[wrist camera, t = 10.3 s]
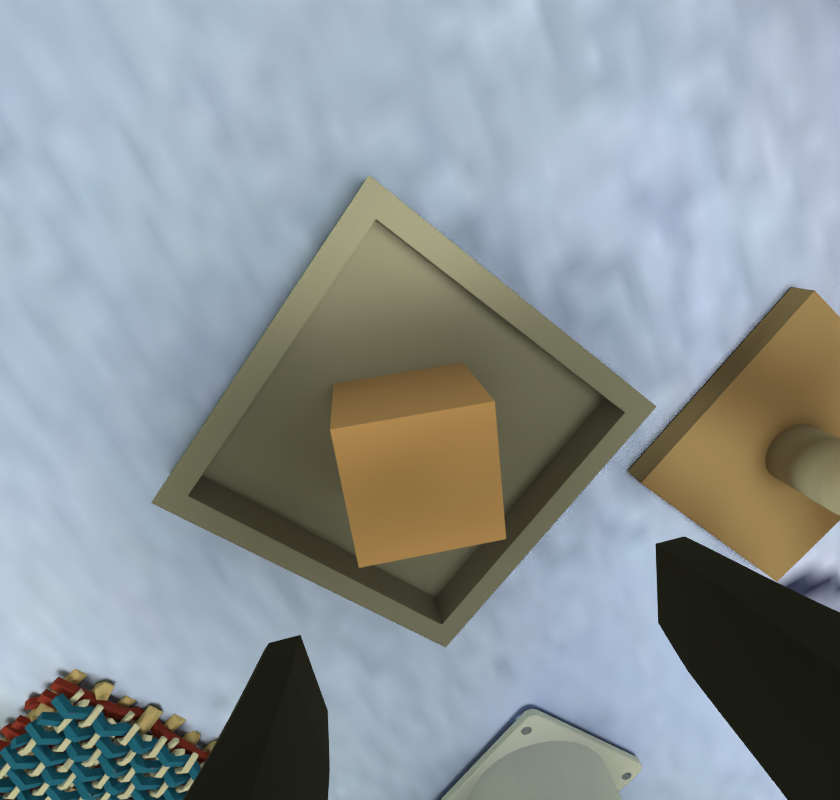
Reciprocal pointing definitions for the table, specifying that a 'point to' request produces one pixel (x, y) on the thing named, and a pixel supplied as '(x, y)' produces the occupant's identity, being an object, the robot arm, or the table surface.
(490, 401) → the orange cube
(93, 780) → the woven mat
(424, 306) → the tray
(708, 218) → the table surface
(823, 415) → the post base
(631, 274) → the table surface
